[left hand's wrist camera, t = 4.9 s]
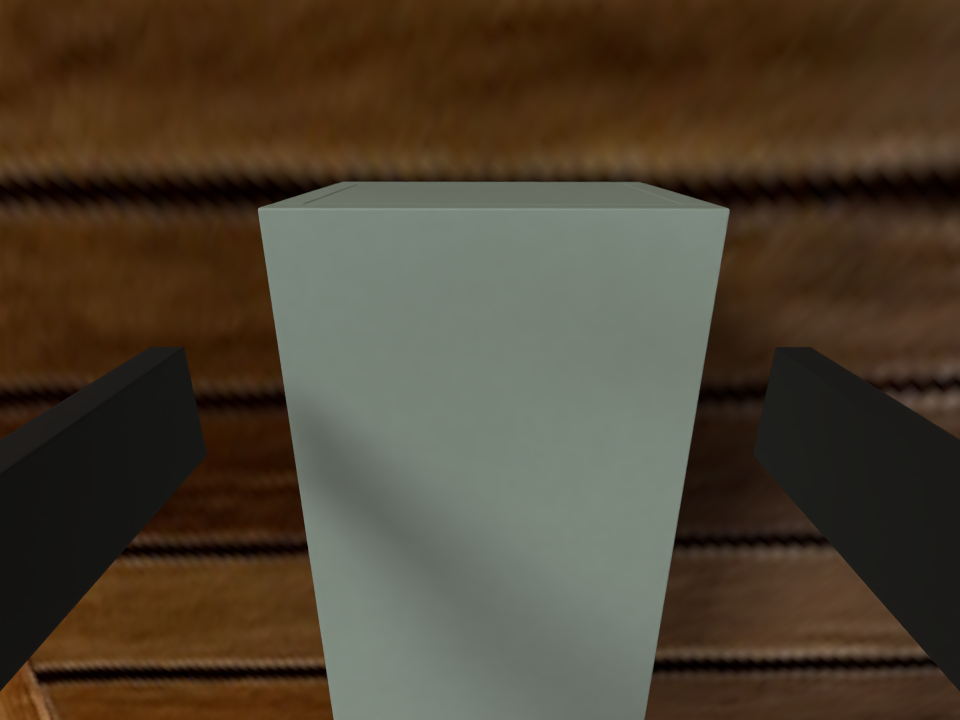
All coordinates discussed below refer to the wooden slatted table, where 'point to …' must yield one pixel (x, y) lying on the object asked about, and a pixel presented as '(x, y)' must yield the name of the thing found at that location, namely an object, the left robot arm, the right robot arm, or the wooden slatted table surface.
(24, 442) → the left robot arm
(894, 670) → the wooden slatted table surface
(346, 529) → the cabinet
